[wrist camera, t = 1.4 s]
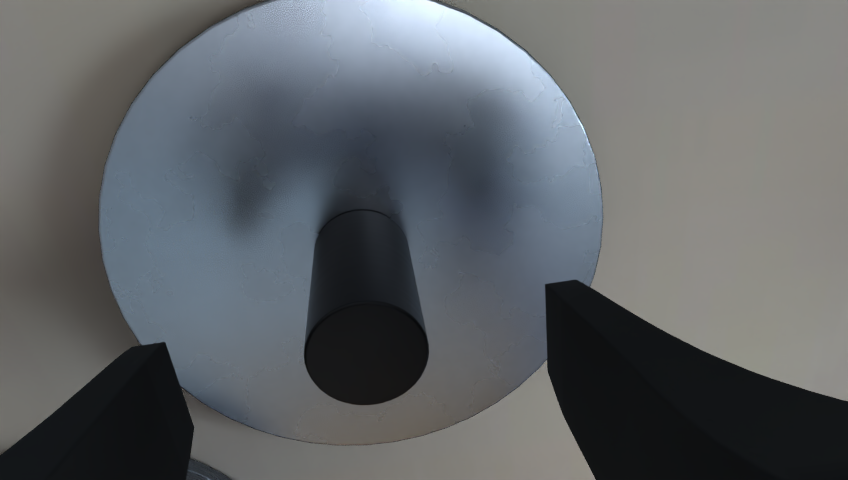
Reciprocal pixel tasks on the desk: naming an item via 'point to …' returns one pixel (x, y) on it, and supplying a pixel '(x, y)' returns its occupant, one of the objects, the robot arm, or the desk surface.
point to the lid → (348, 216)
